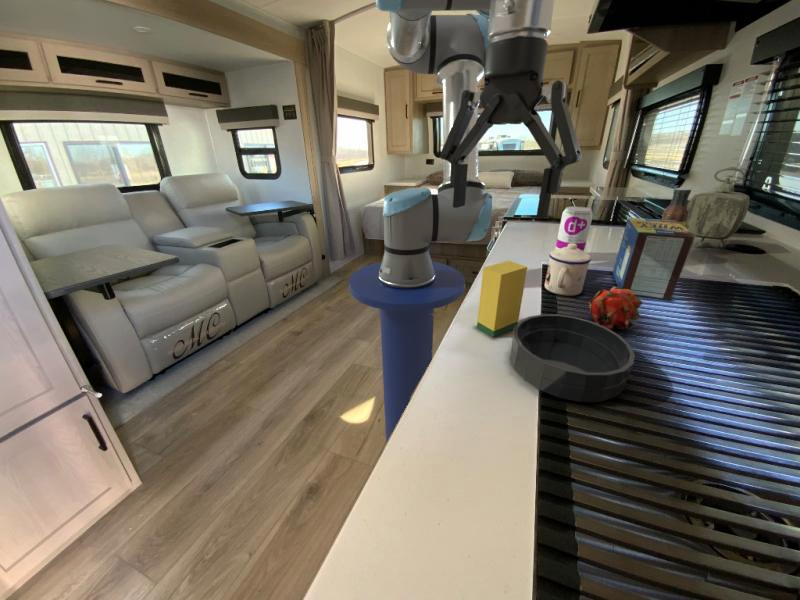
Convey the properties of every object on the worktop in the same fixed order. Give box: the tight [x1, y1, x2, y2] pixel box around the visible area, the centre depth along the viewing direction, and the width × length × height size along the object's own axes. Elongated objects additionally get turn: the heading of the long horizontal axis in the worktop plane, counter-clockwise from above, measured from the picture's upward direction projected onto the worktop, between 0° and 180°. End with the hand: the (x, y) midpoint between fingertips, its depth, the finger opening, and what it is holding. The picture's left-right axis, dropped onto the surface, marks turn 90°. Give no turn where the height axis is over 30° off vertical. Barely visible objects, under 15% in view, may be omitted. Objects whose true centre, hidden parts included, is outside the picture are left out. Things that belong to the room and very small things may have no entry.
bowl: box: [509, 313, 636, 403], centre depth 54 cm, size 17×17×6 cm
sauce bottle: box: [660, 187, 692, 227], centre depth 104 cm, size 6×6×20 cm
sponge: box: [476, 260, 528, 338], centre depth 64 cm, size 4×7×13 cm, turn 123°
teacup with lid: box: [544, 243, 592, 297], centre depth 80 cm, size 12×9×12 cm
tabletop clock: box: [685, 167, 751, 249], centre depth 108 cm, size 14×9×25 cm, turn 40°
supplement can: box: [554, 206, 594, 252], centre depth 102 cm, size 8×8×15 cm
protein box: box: [612, 217, 696, 301], centre depth 81 cm, size 10×15×16 cm
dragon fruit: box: [588, 286, 643, 331], centre depth 66 cm, size 8×8×12 cm
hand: (497, 211), depth 51 cm, fingers open, 13 cm apart
